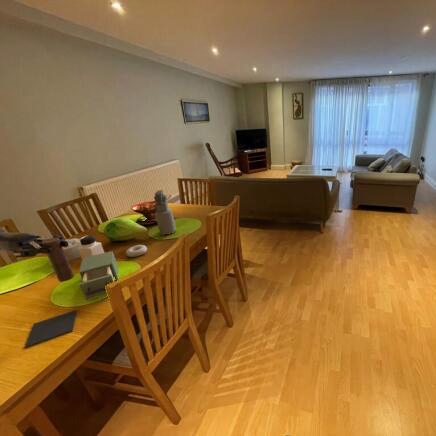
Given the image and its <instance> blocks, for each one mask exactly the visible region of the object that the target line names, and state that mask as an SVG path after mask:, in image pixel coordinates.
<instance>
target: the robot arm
mask: <svg viewBox="0 0 436 436" xmlns="http://www.w3.org/2000/svg"><path fill="white" fill-rule="evenodd" d="M50 238H59V240H60V242H61V245H62V247H67V246H69V245H68V242H67V241H65V240H66V239H64V235H60V234H58V233H54V234H52V236H51V237H42V236H40V235H38V234H35V233H29V232H28V233H27V232H10V231H6V230H4V229H3V228H1V227H0V252H6V253H11V254H13V255H14V257H15V258H16V259H17V258H34V257H36V256H37V255H42V254H43V255H47V254H52V253H53V250H52V248H51V247H43V244H42V241H44V240H46V239H50Z"/></svg>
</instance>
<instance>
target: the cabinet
mask: <svg viewBox="0 0 436 436" xmlns="http://www.w3.org/2000/svg"><path fill="white" fill-rule="evenodd" d="M110 265H111V268H112V271H113V274H114V277H115V279H116V280H118V281H119V266H118V262H117V260H116V257H115V253H114V251H113V250H110V251H106V252H104V253H102V254H98V255H93V256H89V257H85V258H81V262H80V267H79V271H78V273H79V275H80V277H81V280H82V281H83V277H84V272H88V271H92V270H95V269H99V268H103V267H107V266H110ZM116 280H114V281H116ZM116 282H117V281H116Z"/></svg>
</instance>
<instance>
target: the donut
mask: <svg viewBox="0 0 436 436" xmlns="http://www.w3.org/2000/svg"><path fill="white" fill-rule="evenodd" d="M147 251H148V247H147V246H146V245H143V244H136V245H133V246H130V247H129V248H128V249H127V250H126V251H125V254H126V256H127V257H130V258H137V257H140V256H142V255H144V254H146V252H147Z"/></svg>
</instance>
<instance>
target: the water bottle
mask: <svg viewBox="0 0 436 436" xmlns="http://www.w3.org/2000/svg"><path fill="white" fill-rule="evenodd" d="M167 198H168V197H167V194H164V190H163V189H159V190H156V191H155V193H154V197H153V199H154V201H155V202H156V205H155V210H156V213H155V215H156V219H157V222H156V223H157V227H158V231H159V234H160V235H162V236H166V235H165V234H169V233H172V232H174V231H175V230H176V231H177V228H176V223H175V219H174V218H175V217H174V214H173V210H172V209H171V208H170V207H169V204H168V200H167ZM156 206H157V209H156ZM176 231H175V232H176ZM175 232H174V233H175ZM172 234H173V233H172ZM169 235H170V234H169Z"/></svg>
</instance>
